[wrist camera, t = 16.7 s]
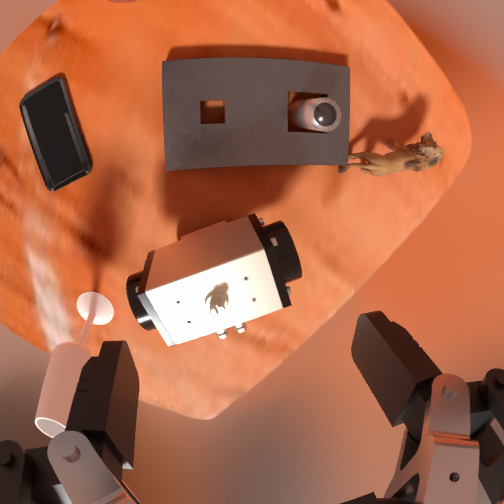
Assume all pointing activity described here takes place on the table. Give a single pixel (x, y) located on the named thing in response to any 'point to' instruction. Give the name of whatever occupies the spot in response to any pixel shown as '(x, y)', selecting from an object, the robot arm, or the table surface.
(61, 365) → the champagne flute
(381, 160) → the lion figurine
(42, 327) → the table surface
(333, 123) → the flashlight
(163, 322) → the security camera
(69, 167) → the phone
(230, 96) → the grey board with holes
